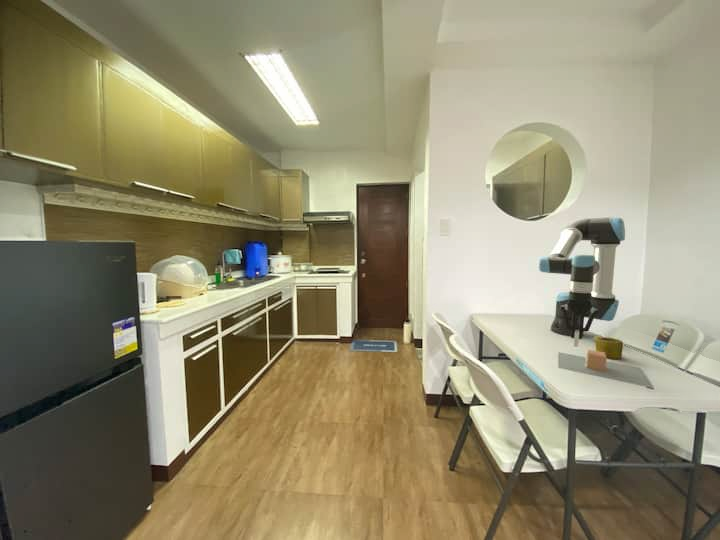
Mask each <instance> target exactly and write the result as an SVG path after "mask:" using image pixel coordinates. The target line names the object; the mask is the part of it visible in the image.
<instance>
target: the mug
mask: <svg viewBox="0 0 720 540" xmlns="http://www.w3.org/2000/svg"><path fill="white" fill-rule="evenodd" d="M593 342H594V343H595V351H600V352H605V355H606V357H607V358H606V359H609V360H619V359H622V357H623V343H624V342H623V341H622V340H620V339H619V338H614V337H605V336H604V337H601V336H594V337H593Z"/></svg>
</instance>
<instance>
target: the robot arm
mask: <svg viewBox="0 0 720 540" xmlns="http://www.w3.org/2000/svg"><path fill="white" fill-rule="evenodd" d="M625 227H626V226H625V221H624V219H623V218H621V217H611V216H609V217H598V218H597V217H595V218H581V219H578V220H575V221H573V222H571V223H569V224H568V225H567V226H566V227H564V228H563V230H561V233H560V238H559V240H558V241H557V243H556V245H555V247H554V248H553V249H552V251H551V252H550V254H549V256H543V257H542V256H541V258H540V259H539V261H538V270H539V272H541V273H547V274H561V275H570V280H569V281H570V282H569V290H570V291H567V292H560V293H558V294H557V295H556V300H555V302H556V305H555V316H554V319H553V321H552V323H551V325H550V330H551V332H554V333H555V334H558V335H562V336H564V335H565V336H569V337H571V339H573V342H572V344H573V347H576V348H579V340H582V339H583V336H584V332H588V331H589V330H590V328H591V326H592V323H593V321H594V320H598V321H599V320H600V321H607V322H611V321H613V320H614V319H615V317H616V315H617V311H618V309H619V305H620V304H619V302H620V301H619V300H618V299H616V295H615V294H614V293H613V285H614V274H615V273H614V271H615V260H616V250H617V249H616V248H617V247H618V246H620V245H621V242H622V241H625V239H626V228H625ZM581 241H589V242H590V245H591V246H592V247H593V255H592V254H574V255H573V256H572V258H571V257H570V256H571V254H572V252H573V251H574V249H575V248H576V246H577V244H578V243H580V242H581ZM585 318H587V321H586V324H585V326H584V322H585Z"/></svg>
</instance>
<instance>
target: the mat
mask: <svg viewBox="0 0 720 540" xmlns="http://www.w3.org/2000/svg"><path fill="white" fill-rule="evenodd" d="M557 357H558V358H557V359H558V360H557V361H558V362H557V363H558V365H557V366H558V367H557V368H558V369H561V370H567V371H572V372H576V373H582V374H585V375H591V376H595V377H599V378H604V379H609V380H613V381H614V380H615V381H618V382H622V383H628V384H632V385H633V384H634V385H637V386H642V387H646V388H647V389H651V390H654V387H653V384H652V383H651V382H650V380H649V378H648V377H647V376H646V374H645V372H644V370H643V369H642V368H641V367H639V366H634V365H628V364H624V363H618V362H613V361H607V360H606V367H605V371H601V370H596V369H591V368H586V365H585V358H586V356H581V355H575V354H571V353H564V352H561V351H560V352H559V351H558V353H557Z"/></svg>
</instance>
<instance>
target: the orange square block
mask: <svg viewBox="0 0 720 540" xmlns="http://www.w3.org/2000/svg"><path fill="white" fill-rule="evenodd" d="M585 357H586V358H585V365H586V368H591V369H596V370H601V371H605V367H606V361H607V359H608V358H607V357H606V355H605V352H600V351H596V349H595V350H593V349H588V348H587V349H585Z"/></svg>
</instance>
